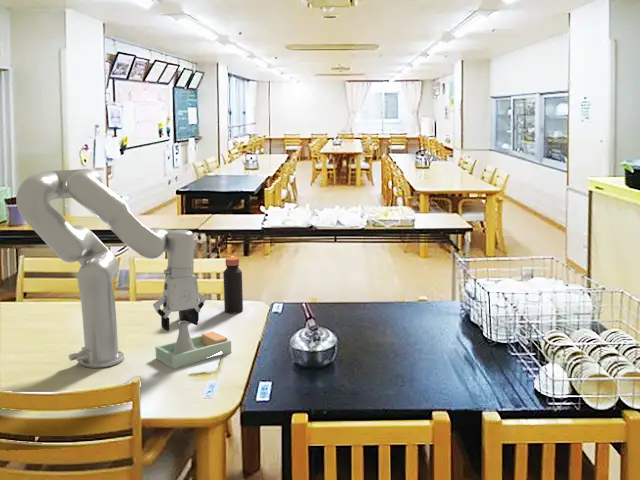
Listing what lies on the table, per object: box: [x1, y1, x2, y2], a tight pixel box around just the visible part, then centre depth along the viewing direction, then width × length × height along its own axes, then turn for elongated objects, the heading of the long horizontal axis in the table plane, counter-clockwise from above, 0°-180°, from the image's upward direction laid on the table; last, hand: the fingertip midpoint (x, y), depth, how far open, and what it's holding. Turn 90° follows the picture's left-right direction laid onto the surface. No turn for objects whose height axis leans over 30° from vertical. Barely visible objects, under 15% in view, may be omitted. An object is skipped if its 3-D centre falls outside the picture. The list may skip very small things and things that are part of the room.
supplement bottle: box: [178, 309, 193, 323], centre depth 244 cm, size 7×7×12 cm
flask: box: [173, 320, 195, 355], centre depth 207 cm, size 7×7×10 cm
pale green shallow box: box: [155, 334, 232, 369], centre depth 210 cm, size 20×11×4 cm, turn 131°
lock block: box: [201, 330, 228, 346], centre depth 214 cm, size 4×8×3 cm, turn 41°
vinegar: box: [223, 256, 244, 314], centre depth 253 cm, size 7×7×20 cm
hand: (180, 326), depth 206 cm, fingers open, 9 cm apart
